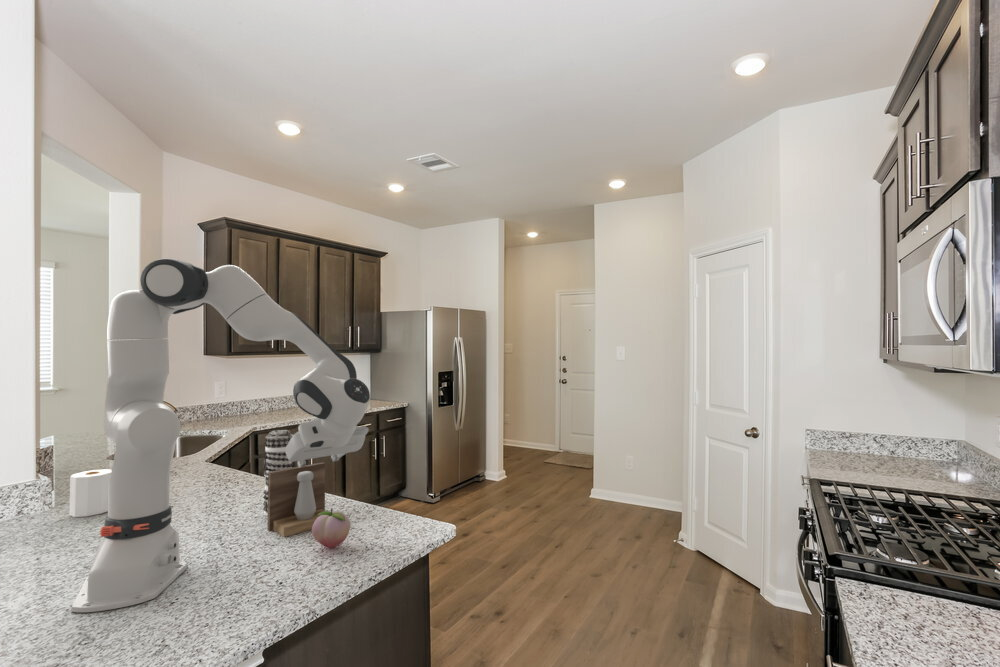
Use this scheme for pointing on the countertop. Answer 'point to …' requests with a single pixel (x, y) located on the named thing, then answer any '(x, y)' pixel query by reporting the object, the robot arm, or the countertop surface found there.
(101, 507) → the toilet paper
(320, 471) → the cleat board
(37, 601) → the countertop surface
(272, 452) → the decorative candle
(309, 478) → the salt shaker
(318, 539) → the decorative fruit
